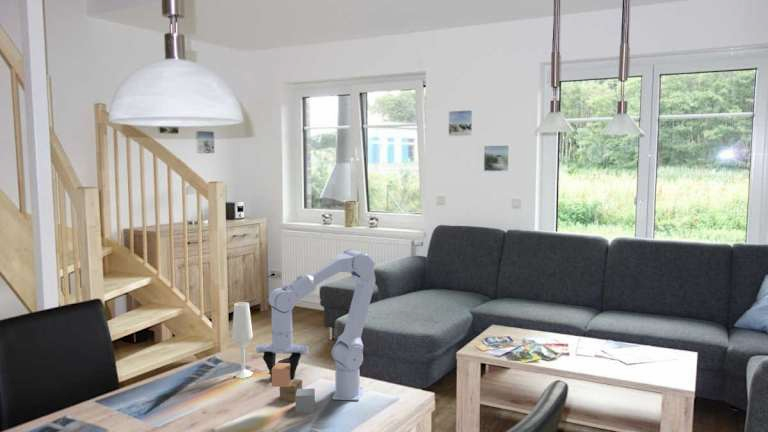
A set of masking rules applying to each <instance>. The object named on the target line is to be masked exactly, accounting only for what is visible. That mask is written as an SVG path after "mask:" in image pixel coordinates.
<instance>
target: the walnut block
mask: <svg viewBox="0 0 768 432" xmlns="http://www.w3.org/2000/svg"><path fill="white" fill-rule="evenodd" d="M297 389H303V379H296V378H294V381H293V382H292V384H291V385H290V387H279V401H284V402H291V403H292V402H293V403H295V395H296V392H297Z"/></svg>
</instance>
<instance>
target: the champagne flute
mask: <svg viewBox="0 0 768 432" xmlns="http://www.w3.org/2000/svg"><path fill="white" fill-rule="evenodd" d="M251 316H252V315H251V310H250V303H249V302H246V301H239V302H235V303H234V304H233V315H232V328H231V329H232V332H231V338H232V339H231V340H232V341H233V342H234V343H235V344H236V346H238V347H240V363H241V364H240V365H241V367H240V368H241V369H240V370H238V371H236V372H235V373H234V374H233V375H235V376H236V377H240V378H244V379H246V378H245V377H249V376H251V375H252V374H253V373H254V372H252V371H250V370H248V369H246V360H245V359H246V356H245V355H246V353H245V351H246V350H245V349H246V347H247V345H249V343H251V342H252V341H251V340H252V339H253V337H254V333H253V327H252V317H251ZM249 378H250V377H249Z"/></svg>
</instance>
